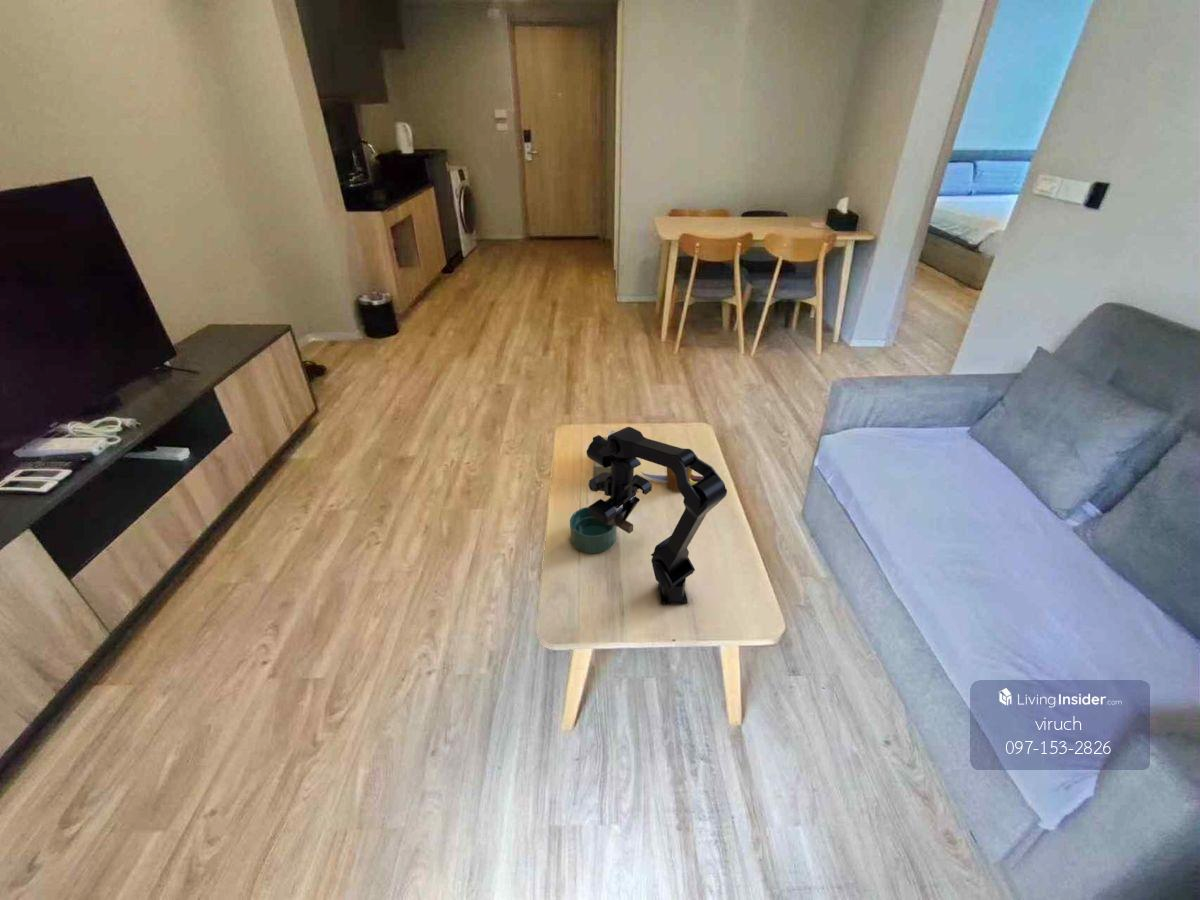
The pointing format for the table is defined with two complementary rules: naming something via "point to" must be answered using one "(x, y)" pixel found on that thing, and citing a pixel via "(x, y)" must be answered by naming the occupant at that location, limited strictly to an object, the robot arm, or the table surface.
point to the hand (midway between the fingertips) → (620, 522)
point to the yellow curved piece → (664, 479)
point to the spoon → (623, 525)
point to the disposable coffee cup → (672, 478)
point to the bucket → (591, 532)
